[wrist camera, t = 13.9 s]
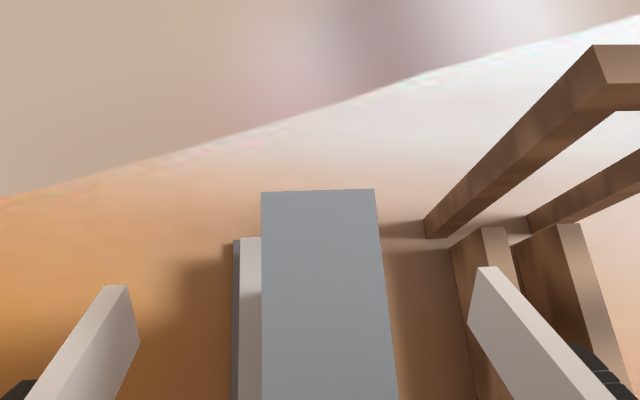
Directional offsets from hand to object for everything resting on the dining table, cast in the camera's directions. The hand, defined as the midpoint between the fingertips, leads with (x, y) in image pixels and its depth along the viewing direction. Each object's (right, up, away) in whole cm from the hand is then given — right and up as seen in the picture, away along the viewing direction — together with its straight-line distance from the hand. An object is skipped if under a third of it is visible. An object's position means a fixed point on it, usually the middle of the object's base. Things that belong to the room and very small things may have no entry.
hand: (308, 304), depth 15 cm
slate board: (0, -6, +9) cm, 11 cm away
